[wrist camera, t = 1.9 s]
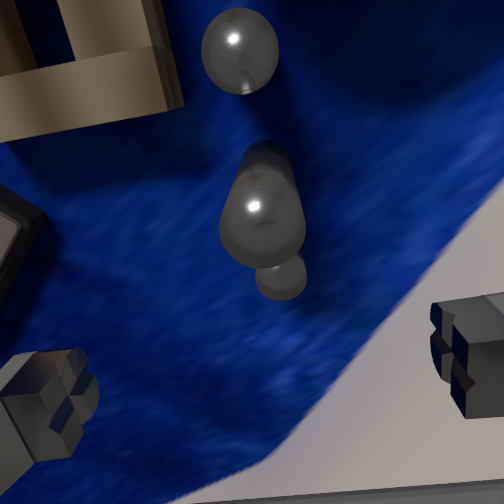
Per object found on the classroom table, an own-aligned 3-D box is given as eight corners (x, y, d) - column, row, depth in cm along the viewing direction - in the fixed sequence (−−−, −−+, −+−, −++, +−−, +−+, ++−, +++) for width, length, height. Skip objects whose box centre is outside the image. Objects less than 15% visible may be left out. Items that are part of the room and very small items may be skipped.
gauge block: (136, -108, 23) (103, -154, 19) (184, 106, 28) (167, 111, 23) (-77, -54, 25) (-156, -85, 20) (3, 140, 29) (-46, 151, 25)
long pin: (286, 135, 28) (300, 180, 15) (293, 184, 30) (310, 262, 17) (237, 144, 29) (211, 195, 16) (246, 191, 30) (228, 273, 17)
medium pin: (271, 26, 26) (272, -1, 17) (279, 85, 27) (283, 86, 19) (217, 37, 26) (193, 16, 18) (228, 94, 27) (210, 100, 19)
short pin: (298, 226, 31) (303, 251, 26) (304, 266, 32) (309, 297, 28) (254, 232, 31) (251, 258, 27) (261, 272, 33) (259, 303, 28)
